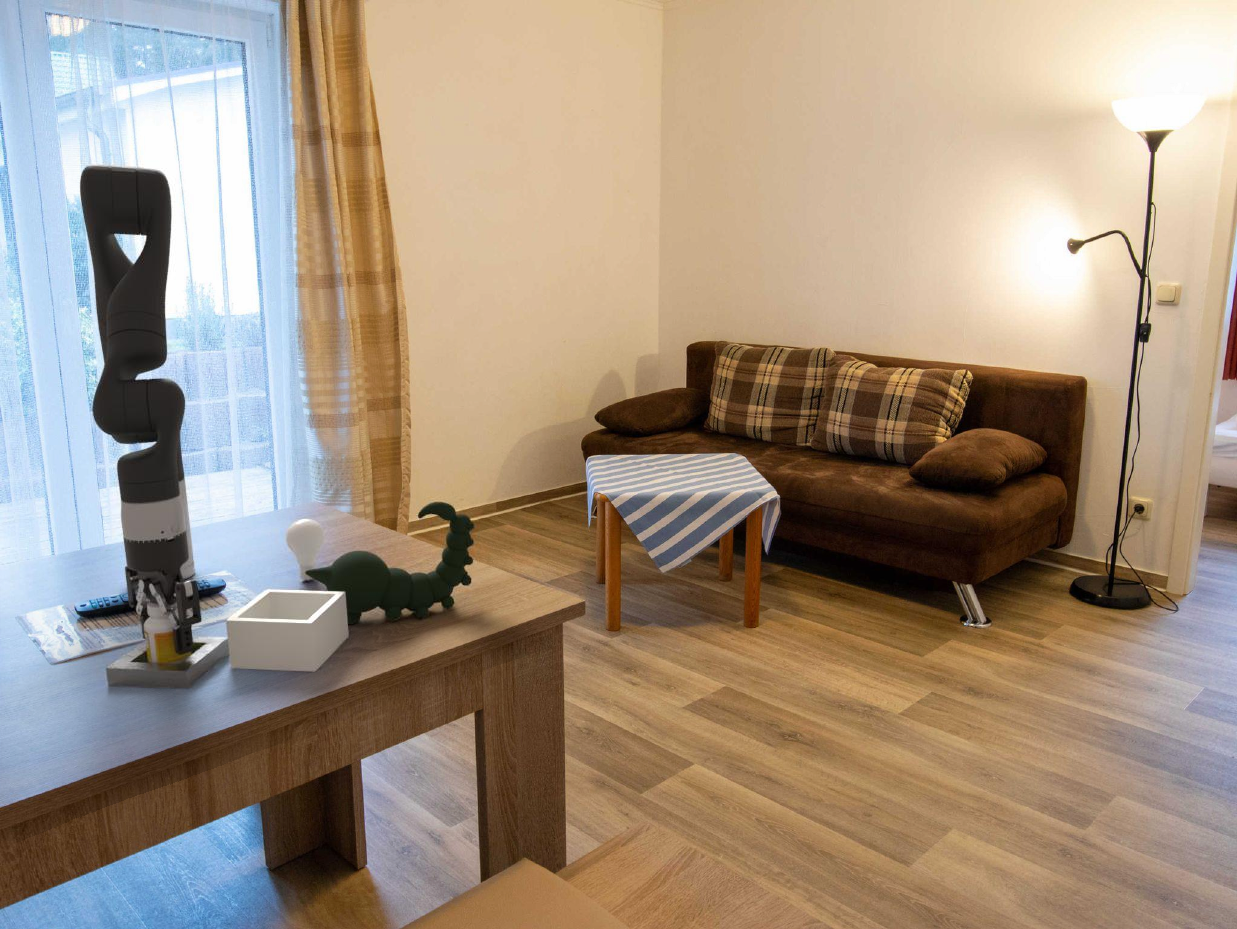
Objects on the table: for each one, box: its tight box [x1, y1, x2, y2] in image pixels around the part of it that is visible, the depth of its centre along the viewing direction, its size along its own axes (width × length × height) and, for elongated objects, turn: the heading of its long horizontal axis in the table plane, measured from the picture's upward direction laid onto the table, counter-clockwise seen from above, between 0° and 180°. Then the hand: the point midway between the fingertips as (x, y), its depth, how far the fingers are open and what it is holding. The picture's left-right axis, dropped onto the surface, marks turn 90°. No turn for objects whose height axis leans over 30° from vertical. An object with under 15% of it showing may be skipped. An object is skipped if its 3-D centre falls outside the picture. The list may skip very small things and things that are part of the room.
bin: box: [225, 588, 349, 673], centre depth 134 cm, size 12×12×7 cm
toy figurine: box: [305, 501, 475, 625], centre depth 146 cm, size 9×19×25 cm
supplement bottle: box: [144, 602, 191, 664], centre depth 129 cm, size 5×5×10 cm
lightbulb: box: [285, 518, 326, 582], centre depth 163 cm, size 6×6×11 cm
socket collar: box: [105, 635, 230, 690], centre depth 129 cm, size 11×11×2 cm
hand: (168, 645), depth 129 cm, fingers open, 7 cm apart
